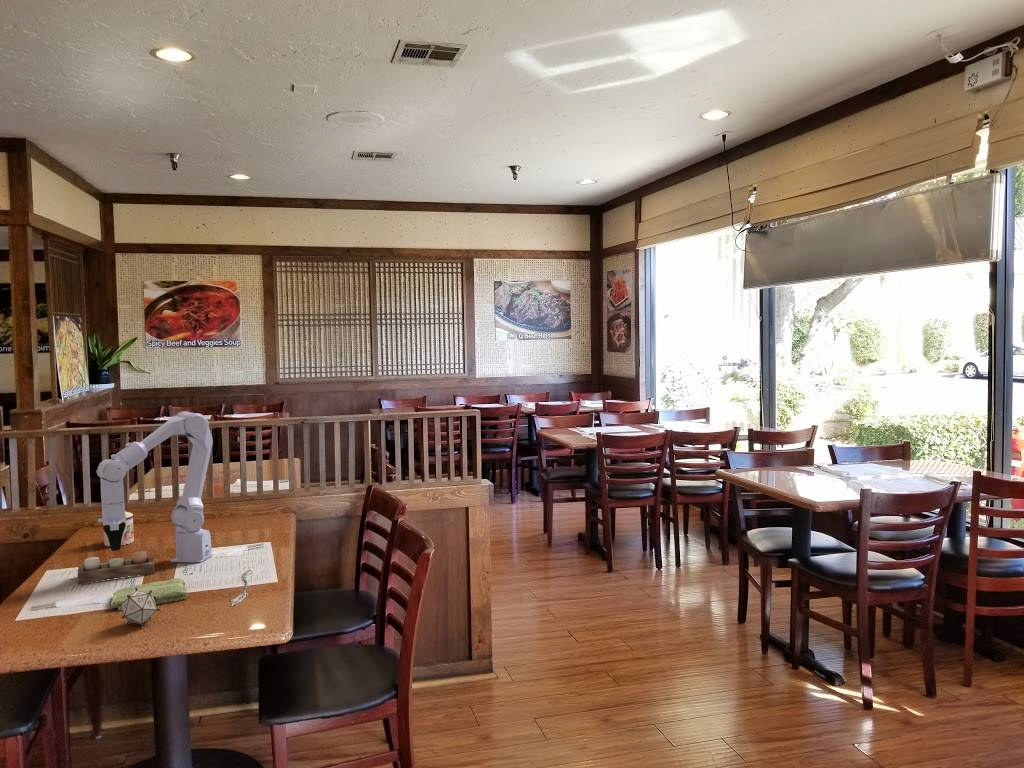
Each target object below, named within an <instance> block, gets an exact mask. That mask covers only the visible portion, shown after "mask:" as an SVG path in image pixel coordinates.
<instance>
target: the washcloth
mask: <svg viewBox="0 0 1024 768" xmlns="http://www.w3.org/2000/svg"><path fill="white" fill-rule="evenodd" d="M135 588H138V590H137V591H141V592H147V593H149V592H150V591H151V590H152V592H151V593H150V594H151V595H152V597H153V598H154V597H156V599H154V600H155V603H156V604H157V605H161V604H160V603H163V604H167V602H168V603H173V602H172V601H175V602H181V601H184V600H185V599H187V597H188V590H187V589H186V582H185V580H184V579H183V578H181V577H175V578H171V579H168V580H161V581H154V582H148V583H143V584H138V585H132V586H127V587H126V586H125V587H122V588H119V589H117V590H116V591H114V592H113V594H112V597H111V603H110V606H111V609H113V608H114V609H115V608H117V609H118V611H119V610H121V609H122V607H121V606H118V605H117V604H122V603H123V602H124V601H125V600H126V599H127V598H128V597H127V595H130V596H131V595H132V594H133V593H134V592H135V591H136V590H135ZM183 599H184V600H183ZM180 600H181V601H180Z"/></svg>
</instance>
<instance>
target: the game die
mask: <svg viewBox="0 0 1024 768" xmlns="http://www.w3.org/2000/svg"><path fill="white" fill-rule="evenodd" d="M135 590H136V591H135V592H134V593H133V594H132V595H131V596H130V595H127V597H128V598H127V599H126V600H125V601H124V602H123V603H122V604H117V605H118V606H121V607H122V613H123V615H122V616H121V619H122V620H123V619H126V620H127V622H126V625H129V624H130V623H133V624H137V625H140V627H141V626H143V627H144V623H146V622H147V621H148V620H149V619H150V620H152V616H153V615H154V614H155V613H157V612H160V611H162V610H161V608H158V607H157V605H156V603H155V600H154V599H156V597H154V598H153V597H152V595H151V594H150V593H151V592H152V590H151V591H150V592H149V593H147V592H141V591H137V590H138V588H135ZM128 623H129V624H128Z"/></svg>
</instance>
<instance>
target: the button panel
mask: <svg viewBox="0 0 1024 768" xmlns="http://www.w3.org/2000/svg"><path fill="white" fill-rule="evenodd" d="M123 563H124V566H118V567H110V568H109V561H106V562H99V565H100V567H99V568H97V569H93V570H86V569H85V564H83V565H78V567H77V584H79V585H85V584H84V583H86V584H92V583H91V582H93V583H97V582H96V581H100V582H103V581H102V580H107V579H114V578H121V577H128V576H135V577H138V576H137V575H142V576H148V575H147V574H149V575H153V574H156V573H155V561H154V556H153V555H151V556H150V555H149V556H147V561H146V562H143V563H133V558H126V559H123ZM145 574H146V575H145ZM128 578H129V577H128ZM121 579H122V578H121ZM114 580H115V579H114ZM107 581H108V580H107Z"/></svg>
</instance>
